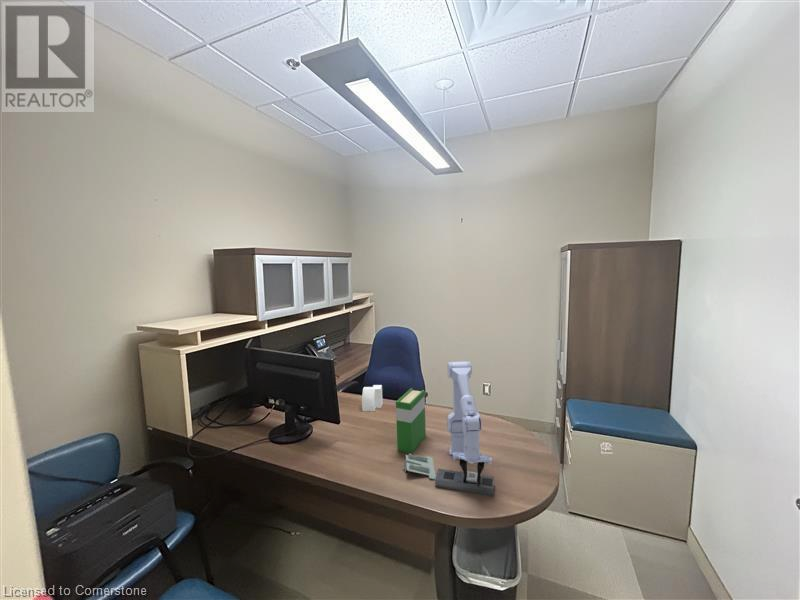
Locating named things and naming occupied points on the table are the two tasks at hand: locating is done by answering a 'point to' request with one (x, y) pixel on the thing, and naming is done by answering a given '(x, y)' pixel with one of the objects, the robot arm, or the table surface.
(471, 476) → the cube with square inset
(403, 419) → the hardback book
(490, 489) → the rail
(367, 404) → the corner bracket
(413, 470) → the metal bracket
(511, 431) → the table surface
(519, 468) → the table surface
